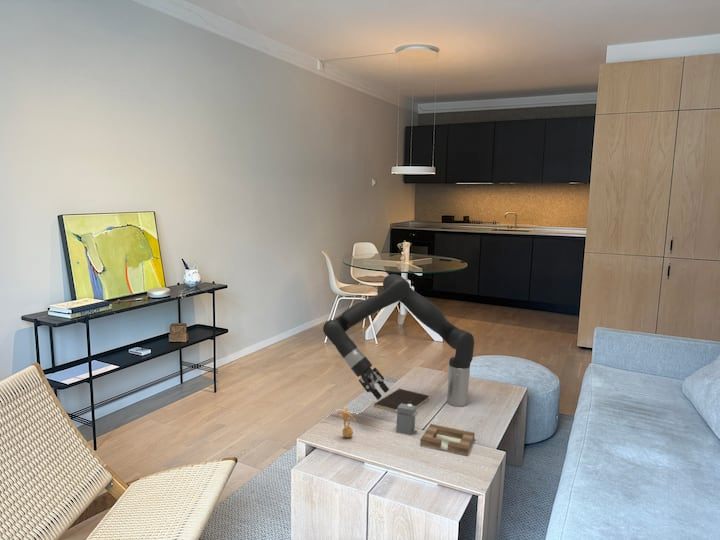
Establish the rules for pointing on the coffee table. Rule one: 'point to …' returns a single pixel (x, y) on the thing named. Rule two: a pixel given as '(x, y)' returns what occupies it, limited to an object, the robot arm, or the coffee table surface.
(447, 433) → the walnut plate
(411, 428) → the block
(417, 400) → the hardcover book
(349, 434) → the figurine
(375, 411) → the coffee table surface
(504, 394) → the coffee table surface
